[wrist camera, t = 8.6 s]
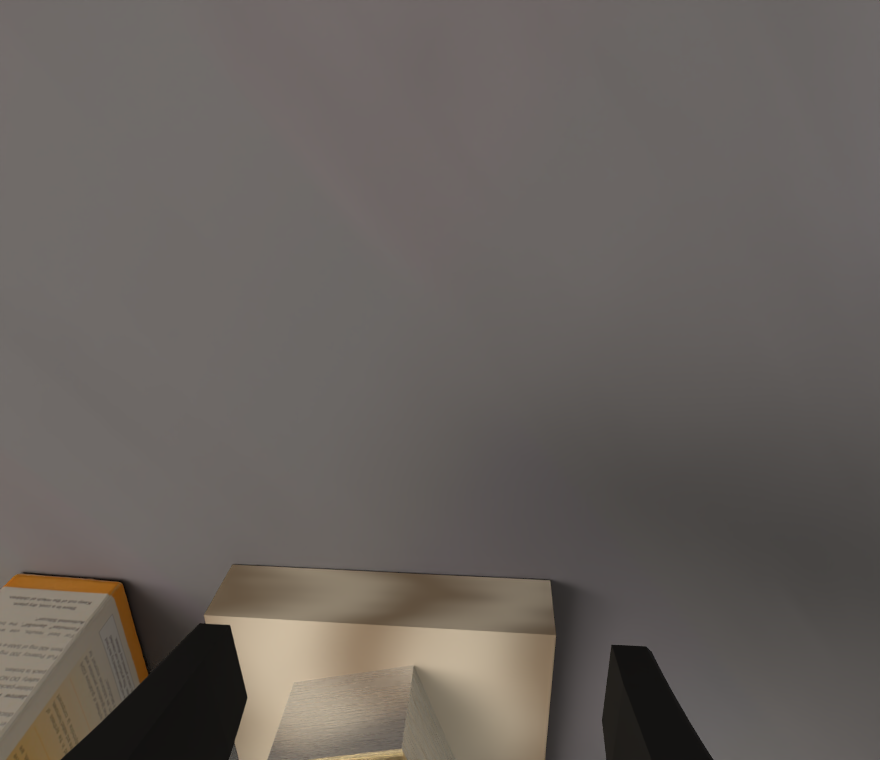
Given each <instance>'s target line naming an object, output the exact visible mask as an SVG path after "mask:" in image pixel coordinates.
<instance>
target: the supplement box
mask: <svg viewBox="0 0 880 760" xmlns="http://www.w3.org/2000/svg"><path fill="white" fill-rule="evenodd" d="M147 676H148V671H147V668H146V665H145V661H144V658H143V654H142V650H141V646H140V644H139V640H138V636H137V634H136V630H135V626H134V622H133V619H132V616H131V611H130V608H129V604H128V601H127V596H126V594H125V591H124V587H123V584H122V583H121V582H116V581H104V580H95V579H84V578H71V577H57V576H44V575H33V574H17V575H15V576H14V577H13V578H12V579H11V580H10V581H9V582H8V583H7V584H6V585H5V586H4V587H3V588H2V589H1V590H0V760H61V759H62V758H63V757H64V756H65V755H66V754H67V753H68V752H69V751H70V750H71V749H73V748H74V747H75V746H76V745H77V744H78V743H79V742H80V741H81V740H82V739H84V738H85V737H86V736H87V735H88V734H89V733H90V732H91V731H92V730H93V729H94V728H95V727H96V726H97V725H99V724H100V723H101V722H102V721H103V720H104V719H105V718H106V717H107V716H108V715H109V714H110V713H111V712H112V711H113V710H114V709H115V708H116V707H117V706H118V705H119V704H120V703H121V702H122V701H123V700H124V699H125V698H126V697H127V696H128V695H129V694H130V693H131V692H132V691H133V690H134V689H135V688H136V687H137V686H138V685H139V684H140V683H141V682H142V681H143V680H144V679H145V678H146V677H147Z"/></svg>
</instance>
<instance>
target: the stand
mask: <svg viewBox="0 0 880 760" xmlns="http://www.w3.org/2000/svg"><path fill="white" fill-rule="evenodd" d="M204 618H205V622H206V624H221V625H230V626H231V630H232V635H233V639H234V643H235V647H236V651H237V655H238V659H239V664H240V668H241V672H242V676H243V680H244V684H245V689H246V693H247V697H248V698H247V702H246V705H245V709H244V712H243V715H242V719H241V722H240V726H239V729H238V732H237V735H236V738H235V746H236V750H237V754H238V758H239V760H267V759H268V756H269V753H270V750H271V747H272V745H273V742H274V739H275V736H276V733H277V730H278V727H279V724H280V721H281V719H282V716H283V713H284V710H285V707H286V704H287V701H288V698H289V695H290V692H291V690H292V687H293V684H294V682H301V681H308V680H315V679H321V678H328V677H335V676H342V675H349V674H356V673H363V672H370V671H376V670H383V669H390V668H397V667H404V666H411V665H414V667H415V669H416V671H417V674H418V676H419V678H420V680H421V683H422V685H423V687H424V689H425V692H426V694H427V696H428V698H429V701H430V703H431V705H432V707H433V710H434V712H435V714H436V716H437V719H438V721H439V723H440V725H441V728H442V730H443V732H444V734H445V737H446V739H447V741H448V744H449V746H450V748H451V750H452V753H453V755H454V757H455V759H456V760H545V752H546V741H547V730H548V719H549V708H550V696H551V685H552V674H553V663H554V652H555V641H556V630H555V621H554V612H553V602H552V593H551V584H550V580H533V579H512V578H492V577H472V576H452V575H432V574H411V573H391V572H371V571H351V570H331V569H311V568H290V567H270V566H250V565H232V566H231V568H230V570H229V571H228V573H227V575H226V577H225V579H224V580H223V582H222V584H221V586H220V587H219V589H218V591H217V593H216V595H215V596H214V598H213V600H212V602H211V603H210V605H209V607H208V609H207V611H206V612H205V614H204Z"/></svg>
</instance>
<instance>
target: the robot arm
mask: <svg viewBox="0 0 880 760" xmlns="http://www.w3.org/2000/svg"><path fill="white" fill-rule="evenodd" d="M247 698H248V697H247V693H246V689H245V684H244V680H243V676H242V672H241V668H240V664H239V659H238V655H237V651H236V647H235V643H234V639H233V635H232V630H231V626H230V625H221V624H202V623H200V624H199V625H198V626H197V627H196V628H195V629H194V630H193V631H192V632H191V633H190V634H189V635H188V636H187V637H186V638H185V639H184V640H183V641H182V642H181V643H180V644H179V645H178V646H177V647H176V648H175V649H174V650H173V651H172V652H171V653H170V654H169V655H168V656H167V657H166V658H165V659H164V660H163V661H162V662H161V663H160V664H159V665H158V666H157V667H156V668H155V669H154V670H153V671H152V672H151V673H150V674H149V675H148V676H147V677H146V678H145V679H144V680H143V681H142V682H141V683H140V684H139V685H138V686H137V687H136V688H135V689H134V690H133V691H132V692H131V693H130V694H129V695H128V696H127V697H126V698H125V699H124V700H123V701H122V702H121V703H120V704H119V705H118V706H117V707H116V708H115V709H114V710H113V711H112V712H111V713H110V714H109V715H108V716H107V717H106V718H105V719H104V720H103V721H102V722H101V723H100V724H99V725H97V726H96V727H95V728H94V729H93V730H92V731H91V732H90V733H89V734H88V735H87V736H86V737H85V738H84V739H82V740H81V741H80V742H79V743H78V744H77V745H76V746H75V747H74V748H73V749H71V750H70V751H69V752H68V753H67V754H66V755H65V756H64V757H63V758H62V759H61V760H228V759H229V757H230V754H231V751H232V748H233V745H234V742H235V738H236V735H237V732H238V729H239V726H240V722H241V719H242V715H243V712H244V709H245V705H246V702H247ZM602 724H603V733H604V742H605V751H606V760H713V759H712V757H711V755H710V754H709V752H708V751H707V749H706V748H705V746H704V744H703V743H702V741H701V740H700V738H699V736H698V735H697V733H696V731H695V730H694V728H693V727H692V725H691V723H690V722H689V720H688V718H687V716H686V715H685V713H684V711H683V709H682V708H681V706H680V704H679V703H678V701H677V699H676V697H675V696H674V694H673V692H672V690H671V688H670V687H669V685H668V683H667V681H666V679H665V677H664V675H663V673H662V672H661V670H660V668H659V666H658V664H657V662H656V660H655V658H654V656H653V654H652V652H651V651H650V650H649V649H648V648H647V647H644V646H625V645H611V653H610V661H609V669H608V677H607V685H606V693H605V701H604V709H603V717H602Z"/></svg>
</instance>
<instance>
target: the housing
mask: <svg viewBox="0 0 880 760" xmlns="http://www.w3.org/2000/svg"><path fill="white" fill-rule="evenodd" d="M267 760H456V759H455V757H454V755H453V753H452V750H451V748H450V746H449V744H448V741H447V739H446V737H445V734H444V732H443V730H442V728H441V725H440V723H439V721H438V719H437V716H436V714H435V712H434V710H433V707H432V705H431V703H430V701H429V698H428V696H427V694H426V692H425V689H424V687H423V685H422V683H421V680H420V678H419V676H418V674H417V671H416V669H415V667H414V665H411V666H404V667H397V668H390V669H383V670H376V671H370V672H363V673H356V674H349V675H342V676H335V677H328V678H321V679H315V680H308V681H301V682H294V684H293V687H292V690H291V692H290V695H289V698H288V701H287V704H286V707H285V710H284V713H283V716H282V719H281V721H280V724H279V727H278V730H277V733H276V736H275V739H274V742H273V745H272V747H271V750H270V753H269V756H268V759H267Z"/></svg>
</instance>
